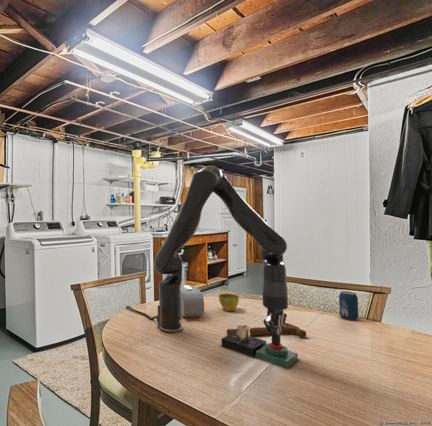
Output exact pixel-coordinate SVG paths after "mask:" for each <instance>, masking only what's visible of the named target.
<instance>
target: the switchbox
mask: <svg viewBox="0 0 432 426" xmlns="http://www.w3.org/2000/svg"><path fill="white" fill-rule="evenodd" d="M270 343H271V342H266V345H265V346H263V347H262V348H260V349H259V350H257V351H256V356H255V358H256V359H259V360H262V361H264V362H268V363H270V364H273V365H276V366H279V367H282V368H285V369H288V368H290V367H291V366H292V365H293V364H294V363H296V362H297V361H298V360H299V354H298V352H296V351H295V352H294V351H291V350H288V347H287V346H286V345H284V344H282V350H277V349H273V348H271V347H270Z"/></svg>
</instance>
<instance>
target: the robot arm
mask: <svg viewBox="0 0 432 426" xmlns="http://www.w3.org/2000/svg"><path fill="white" fill-rule="evenodd" d="M212 193H214V194H215V195H216V196H217V197H218V198H219V199H220V200H221V201H222V203H224V205H225V207H226V208H227V210H228V212H229V213H230V215H231V217H232V219H233V220H234V221H235V222H236V224H237V225H238V226H239V227H241V229H242V230H243V231H244V232H245V233H246V234H248V236H250V237H252V238H253V240H254V241H256V243H257V244H258V245H259V246H260V253H261V261H262V285H261V287H262V306H263V307H264V308H266V309H267V313H266V317H267V319H265V318H264V319H263V325H264V327H266V328H267V330H268V332H270V333H272V334H271V342H272V344H274V345H277V346H278V345H280V343H281V334H282V333H281V330H283V329H284V326H285V323H286V321H287V317H288V314H287V313H284V311H285V310H287V309H288V308H289V300H288V299H289V297H288V296H289V295H288V284H287V268H286V265H285V263H284V254H285V253H286V251H287V249H288V244H287V241H286V240H285V238H284V237H283V236H282V235H281V234H280V233H278V232H277V231H276V230H275V229H273V228H272V226H270V225H268V223H267V222H266V221H265V220H264V219H263V218H262V216H260V215H259V214H258V213H257V212H256V211H255V210H254V209H253V208H252V207H251V206H250V205H249V204H248V203H247V202H246V201H245V200H244V198H243V197H242V196H241V195H240V194H239V192H238V191H237V190H236V189H235V187H234V186H233V184H231V182H230V181H229V180H228V179H227V177H226V175H225V174H224V173H223V171H222V170H221V169H219V167H217V166H215V165H207V166H204V167H201V168H200V169H198V170H197V171H196V172H194V174H193V175H192V178H191V180H190V184H189V187H188V190H187V194H186V196H185V198H184V201H183V202H182V204H181V206H180V208H179V210H178V212H177V214H176V215H175V218H174V220H173V223H172V225H171V228H170V229H169V232H168V234H167V235H166V238H165V240H164V242H163V244H162V245H161V247H160V249H159V250H158V252H157V254H156V255H155V258H154V262H153V263H154V264H153V266H154V267H153V268H154V270H155V272H156V273H157V274H159V275H167V276H165V278H164V279H162V280H161V281H159V283H158V301H159V303H158V305H157V314H156V315H154V316H152V317H151V316H149V315H148V314H147V313H145V312H142V311H139V310H136V309H134V308H132V307H131V306H130V305H127V306H125V309H129V310H131V311H132V312H134V313H137V314H141V315H144V316H145V317H146V318H147V319H149V320H151V321H153V320H155V319H156V322H157V327H158V328H159V330H161V331H163V332H165V333H177V332H180V331H181V330H182V323H183V318H182V315H181V293H180V286H182V283H183V260H182V257H181V255H180V253H178V251H179V250H180V249H181V248H182V247H184V246H185V245H186V244H187V243H189V241H191V239H192V238H193V237H194V235H195V233H196V231H197V229H198V227H199V225H200V222H201V217H202V212H203V209H204V207H205V204H206V203H207V201H208V200H209V198H210V196H211V195H212Z"/></svg>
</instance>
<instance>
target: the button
mask: <svg viewBox="0 0 432 426" xmlns="http://www.w3.org/2000/svg"><path fill="white" fill-rule="evenodd" d="M269 343H270V347H271V348H273V349H277V350H282V345H283V344H282V343H281V342H280V345H278V346H277V345H274V344H272V341H270V342H269Z"/></svg>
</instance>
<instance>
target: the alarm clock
mask: <svg viewBox="0 0 432 426" xmlns="http://www.w3.org/2000/svg"><path fill="white" fill-rule="evenodd" d="M180 293H181V317H184V318H201V317H202V316H203V315H204V314H205V299H204V295H203V293H202V291H200V289H199V288H197V287H196V286H194V285H190V284H184V285H183V286H182V285H181V286H180Z"/></svg>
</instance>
